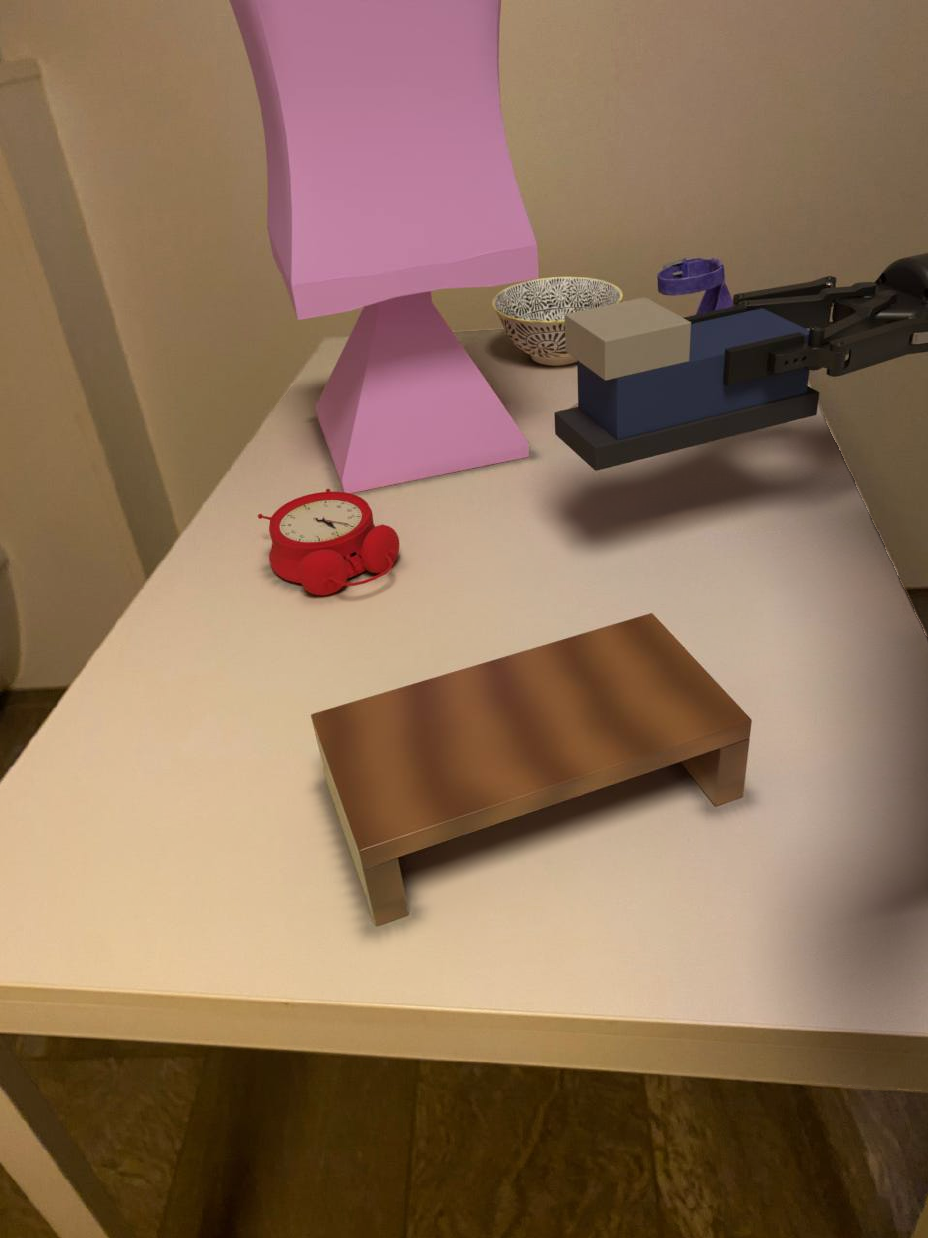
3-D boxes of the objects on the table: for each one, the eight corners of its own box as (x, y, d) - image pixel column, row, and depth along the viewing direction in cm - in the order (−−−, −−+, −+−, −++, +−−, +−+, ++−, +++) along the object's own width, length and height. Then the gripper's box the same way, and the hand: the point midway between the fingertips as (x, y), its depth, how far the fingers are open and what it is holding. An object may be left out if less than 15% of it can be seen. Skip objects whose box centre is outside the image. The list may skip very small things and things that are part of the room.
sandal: (555, 409, 109) (550, 275, 100) (721, 382, 111) (732, 248, 102) (574, 439, 102) (571, 298, 94) (751, 410, 104) (765, 269, 95)
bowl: (628, 375, 115) (629, 313, 110) (496, 385, 116) (491, 323, 112) (615, 329, 128) (615, 271, 123) (496, 338, 129) (492, 281, 124)
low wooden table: (649, 685, 69) (652, 612, 66) (743, 797, 60) (752, 719, 56) (328, 786, 64) (310, 713, 60) (375, 927, 55) (358, 851, 51)
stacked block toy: (762, 383, 85) (774, 267, 79) (816, 415, 79) (833, 292, 73) (554, 434, 80) (550, 315, 74) (595, 471, 74) (594, 345, 68)
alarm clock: (338, 476, 92) (413, 501, 80) (355, 536, 95) (430, 569, 83) (238, 513, 88) (301, 545, 76) (259, 575, 91) (323, 616, 78)
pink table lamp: (486, 382, 117) (451, -72, 90) (546, 459, 99) (524, -77, 73) (305, 416, 113) (212, -45, 87) (333, 503, 96) (228, -44, 69)
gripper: (1020, 378, 76) (768, 443, 70) (855, 308, 91) (638, 357, 86) (1046, 282, 71) (779, 343, 66) (867, 226, 87) (640, 272, 82)
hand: (700, 351), depth 76 cm, fingers closed on stacked block toy, 7 cm apart
